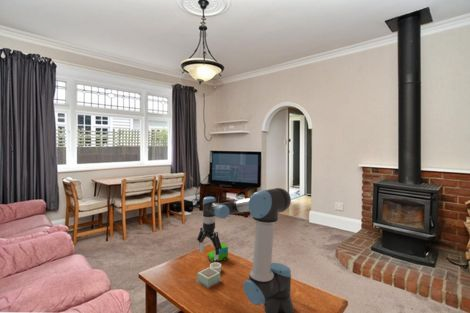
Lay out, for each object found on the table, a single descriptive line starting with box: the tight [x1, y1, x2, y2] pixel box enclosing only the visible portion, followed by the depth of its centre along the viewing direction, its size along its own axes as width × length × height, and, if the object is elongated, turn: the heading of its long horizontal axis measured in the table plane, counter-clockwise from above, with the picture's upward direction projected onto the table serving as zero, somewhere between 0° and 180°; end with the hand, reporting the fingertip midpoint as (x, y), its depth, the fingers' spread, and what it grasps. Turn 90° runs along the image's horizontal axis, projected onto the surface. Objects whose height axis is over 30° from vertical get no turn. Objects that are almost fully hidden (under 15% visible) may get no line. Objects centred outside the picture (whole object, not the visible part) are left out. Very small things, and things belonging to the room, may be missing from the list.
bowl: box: [209, 261, 222, 273], centre depth 168 cm, size 8×8×4 cm
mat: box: [194, 278, 223, 289], centre depth 156 cm, size 12×12×1 cm
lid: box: [196, 266, 221, 287], centre depth 156 cm, size 10×10×5 cm
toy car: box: [206, 242, 229, 263], centre depth 184 cm, size 10×13×10 cm
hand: (208, 255), depth 155 cm, fingers open, 13 cm apart
